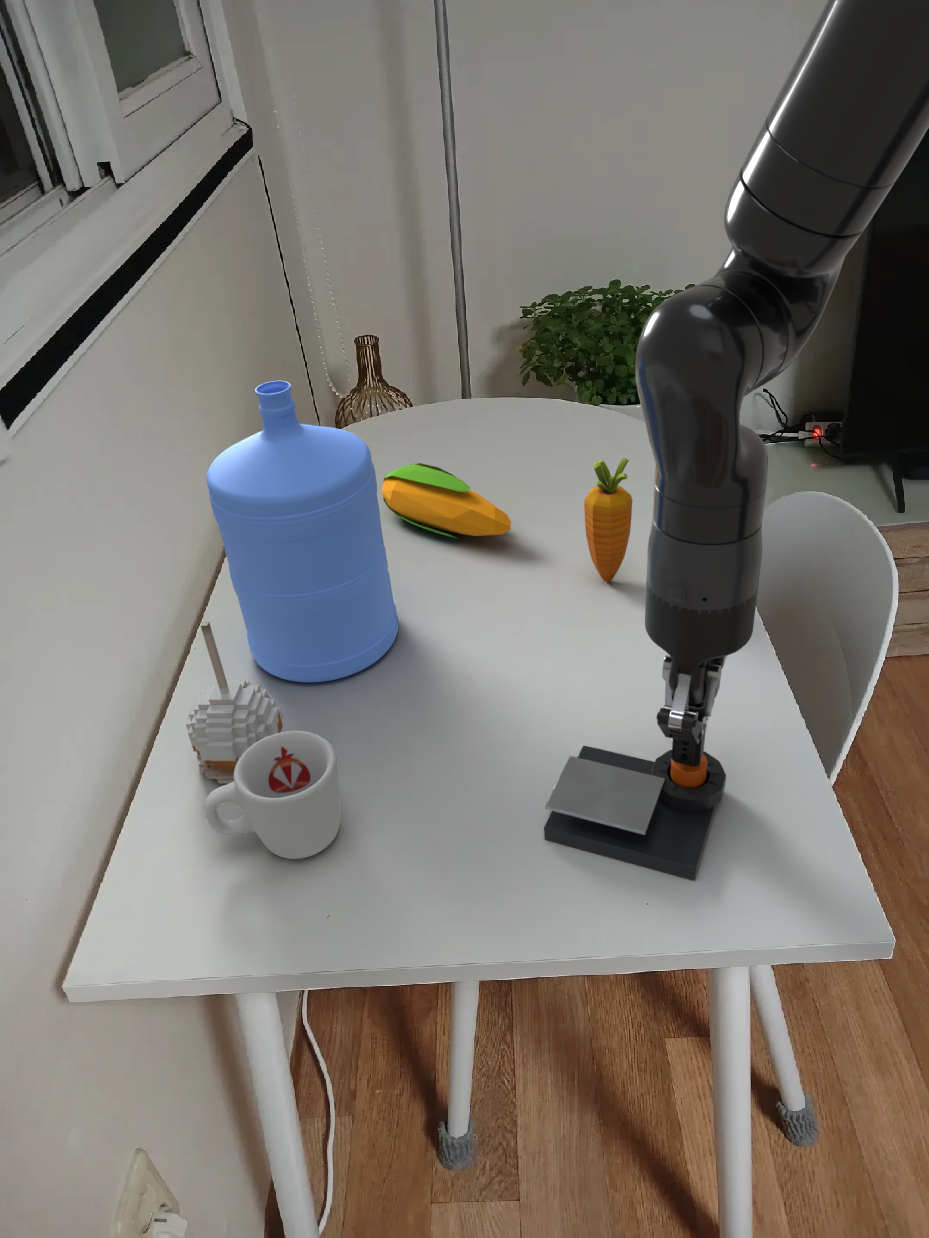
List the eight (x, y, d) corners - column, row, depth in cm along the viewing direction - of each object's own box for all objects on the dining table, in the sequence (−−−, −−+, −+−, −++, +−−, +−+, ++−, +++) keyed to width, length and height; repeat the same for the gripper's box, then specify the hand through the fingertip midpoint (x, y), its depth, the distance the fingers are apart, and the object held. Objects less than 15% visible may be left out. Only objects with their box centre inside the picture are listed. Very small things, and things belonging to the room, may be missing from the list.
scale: (728, 783, 79) (731, 757, 77) (699, 882, 71) (702, 855, 70) (586, 750, 84) (586, 724, 82) (544, 839, 76) (542, 813, 74)
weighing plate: (665, 780, 76) (665, 778, 76) (645, 835, 72) (645, 832, 71) (569, 758, 79) (569, 755, 79) (545, 808, 75) (544, 806, 74)
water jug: (368, 695, 92) (319, 428, 76) (225, 677, 97) (149, 420, 80) (419, 604, 104) (385, 357, 88) (289, 592, 109) (234, 353, 92)
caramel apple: (295, 728, 89) (262, 596, 81) (274, 788, 83) (237, 652, 75) (216, 728, 90) (175, 597, 82) (189, 787, 84) (142, 653, 75)
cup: (223, 893, 74) (197, 822, 70) (217, 820, 81) (194, 751, 76) (358, 857, 76) (342, 786, 71) (342, 788, 82) (327, 719, 78)
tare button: (709, 768, 77) (710, 752, 76) (701, 792, 75) (703, 776, 74) (675, 760, 78) (676, 744, 77) (666, 783, 76) (667, 767, 75)
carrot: (627, 568, 107) (630, 446, 98) (632, 593, 103) (636, 468, 94) (583, 570, 107) (582, 449, 99) (586, 595, 103) (585, 471, 94)
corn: (402, 442, 121) (529, 480, 110) (412, 494, 126) (534, 535, 114) (362, 469, 117) (489, 511, 106) (373, 521, 121) (496, 566, 110)
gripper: (739, 640, 59) (718, 830, 69) (774, 535, 69) (750, 715, 79) (622, 619, 62) (617, 805, 72) (671, 521, 72) (661, 697, 82)
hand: (687, 758), depth 75 cm, fingers closed
